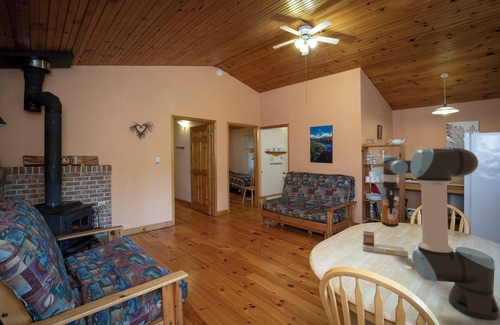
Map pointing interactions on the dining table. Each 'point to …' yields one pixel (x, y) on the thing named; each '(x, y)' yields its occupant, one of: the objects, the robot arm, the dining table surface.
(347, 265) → the dining table surface
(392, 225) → the canister
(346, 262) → the dining table surface
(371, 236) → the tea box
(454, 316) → the dining table surface
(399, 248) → the shelf board
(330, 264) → the dining table surface
